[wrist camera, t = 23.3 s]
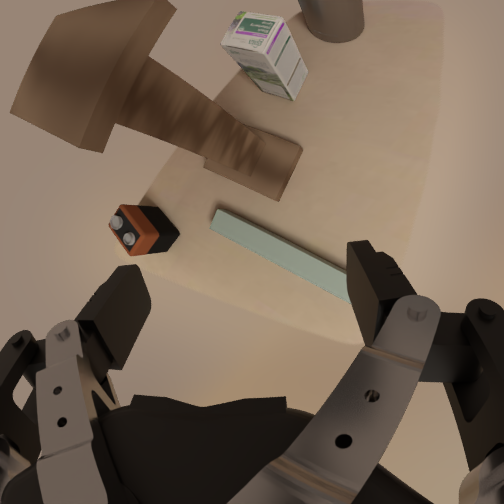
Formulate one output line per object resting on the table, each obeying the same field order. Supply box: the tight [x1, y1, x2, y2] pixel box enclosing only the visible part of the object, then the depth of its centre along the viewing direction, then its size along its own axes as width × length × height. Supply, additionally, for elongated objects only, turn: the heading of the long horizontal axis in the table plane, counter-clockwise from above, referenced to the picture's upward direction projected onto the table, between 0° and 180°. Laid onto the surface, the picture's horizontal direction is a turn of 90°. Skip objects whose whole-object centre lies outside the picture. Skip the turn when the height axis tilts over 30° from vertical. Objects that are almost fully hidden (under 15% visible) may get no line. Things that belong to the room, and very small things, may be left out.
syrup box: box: [220, 11, 308, 101], centre depth 32 cm, size 6×6×14 cm
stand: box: [10, 0, 303, 202], centre depth 26 cm, size 8×12×32 cm, turn 64°
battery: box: [109, 204, 180, 256], centre depth 43 cm, size 4×7×10 cm, turn 47°
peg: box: [209, 209, 351, 304], centre depth 40 cm, size 3×22×3 cm, turn 65°
